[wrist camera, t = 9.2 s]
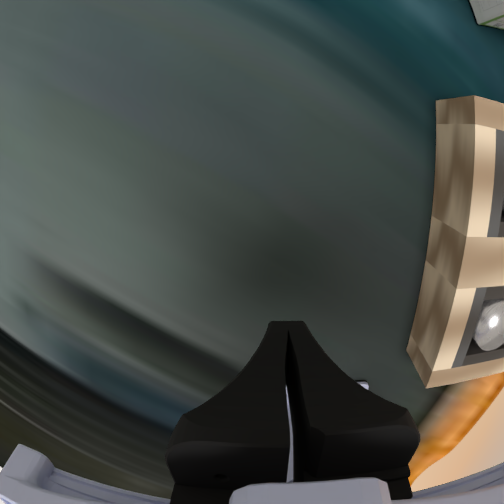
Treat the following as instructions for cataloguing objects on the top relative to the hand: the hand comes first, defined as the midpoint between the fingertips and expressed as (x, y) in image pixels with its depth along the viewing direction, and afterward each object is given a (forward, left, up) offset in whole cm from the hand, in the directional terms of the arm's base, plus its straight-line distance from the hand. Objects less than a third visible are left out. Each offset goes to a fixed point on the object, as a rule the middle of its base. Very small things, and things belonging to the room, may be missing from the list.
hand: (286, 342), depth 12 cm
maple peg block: (+1, -16, -10) cm, 19 cm away
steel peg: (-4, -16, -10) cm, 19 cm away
